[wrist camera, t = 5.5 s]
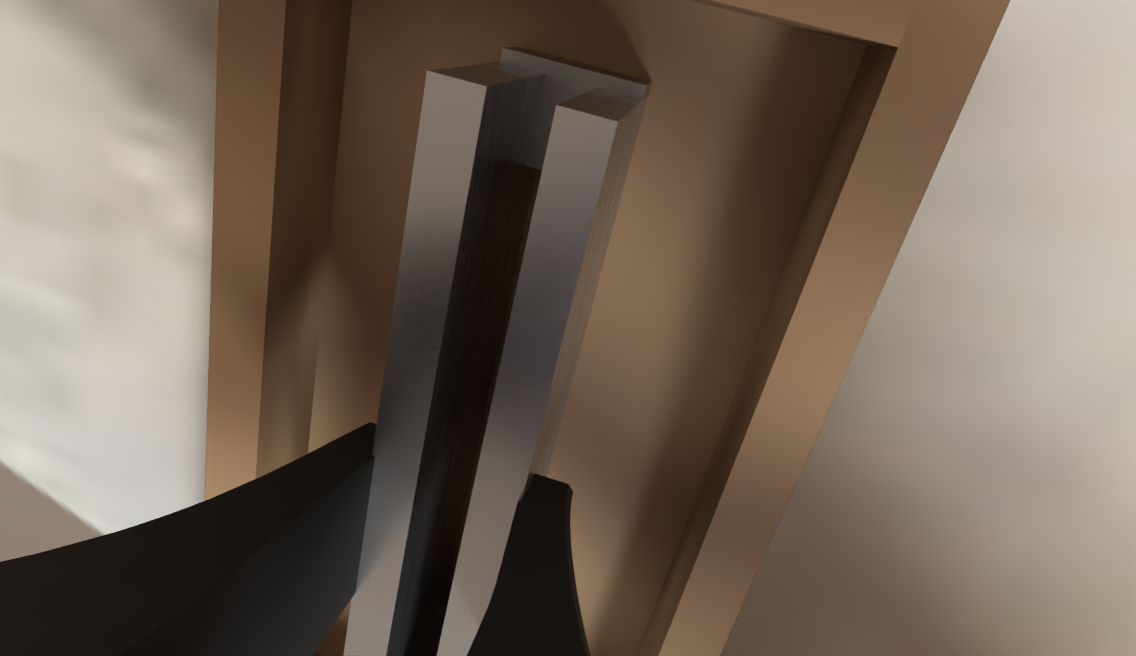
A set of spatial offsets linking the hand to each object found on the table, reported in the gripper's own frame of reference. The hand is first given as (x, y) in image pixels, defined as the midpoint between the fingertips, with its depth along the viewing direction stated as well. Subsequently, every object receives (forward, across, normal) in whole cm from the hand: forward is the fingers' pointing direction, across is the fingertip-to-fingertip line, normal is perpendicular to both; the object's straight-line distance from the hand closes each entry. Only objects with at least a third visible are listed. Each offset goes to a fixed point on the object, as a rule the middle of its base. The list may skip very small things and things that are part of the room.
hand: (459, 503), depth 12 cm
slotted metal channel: (+3, 0, 0) cm, 3 cm away
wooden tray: (+3, 0, 0) cm, 3 cm away
